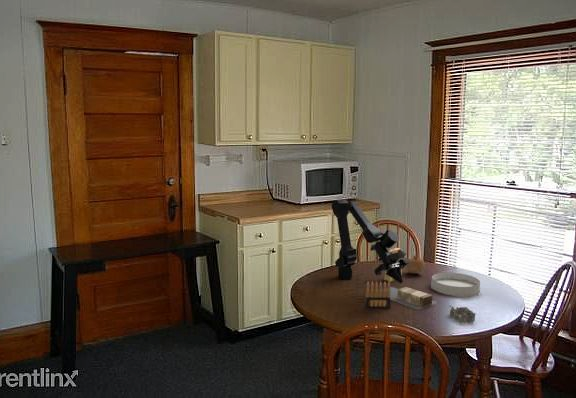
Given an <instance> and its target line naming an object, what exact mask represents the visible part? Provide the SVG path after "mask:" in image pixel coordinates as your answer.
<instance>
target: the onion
mask: <svg viewBox="0 0 576 398" xmlns="http://www.w3.org/2000/svg"><path fill="white" fill-rule="evenodd" d="M407 259H408V260H409V262H410V263H409V264H408V265H406V266H405V268H406V270H407V271H408V272H409V273H411V274H412V275H417V274H419V273H423V271H424V270H425V266H426V264H425V261H424V260H423V258H422V257H420V256H419V255H416V254H415V255H413V256H411V257H410V258H409V257H408V258H407Z"/></svg>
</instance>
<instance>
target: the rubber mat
mask: <svg viewBox="0 0 576 398" xmlns="http://www.w3.org/2000/svg"><path fill="white" fill-rule="evenodd" d="M398 289H399V288H396V287H394V286H390V291H391V293H390V301H393V302H395V303H397V304H401V305H404V306H406V307H409V308H412V309H415V310H417V311H419V310H421V309H424V308H427V307H430V306H433V305H435V304H438V302H437V301H435V300H432V304H431V305H428V306H426V307H421V306H418V305H415V304H412V303H410V302H407V301H404V300H401V299H398V298H397V294H398ZM382 293H383V289H382ZM386 295H387V287H386Z"/></svg>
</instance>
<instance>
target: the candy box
mask: <svg viewBox="0 0 576 398" xmlns="http://www.w3.org/2000/svg"><path fill="white" fill-rule="evenodd" d="M401 249H402V248H399V247H396V248H395V247H394V248H392V249H391V248H390V249H389V250H390V252H391V251H392V252H394V253H397V252H398V250H401ZM401 259H404V258H401ZM401 259H399V260H401ZM397 262H398V261H397ZM386 273H387V272H386V270H385V271H384V276H383V277H384V278H383V280H384V281H387V282H390V283H391V282H393V281H394V282H395V281H396V280H395V279H393V278H392V277H390V276H388V275H385V274H386ZM401 275H402V276H403V269H401Z"/></svg>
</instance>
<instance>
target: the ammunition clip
mask: <svg viewBox="0 0 576 398" xmlns="http://www.w3.org/2000/svg"><path fill="white" fill-rule="evenodd" d="M378 285H379V286H378ZM390 287H391V282H390V281H387V283H386V280H384V282H383V283H382V281H381V280H380V281H379V284H378V281H377V280H376V281H375V283H374V281H373V280H371V284H370V282H369V280H368V281H367V282H366V288H365V300H364V309H365V310H377V309H391V300H390V293H391V291H390ZM386 288H387V295H386ZM382 290H383V293H382Z"/></svg>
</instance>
